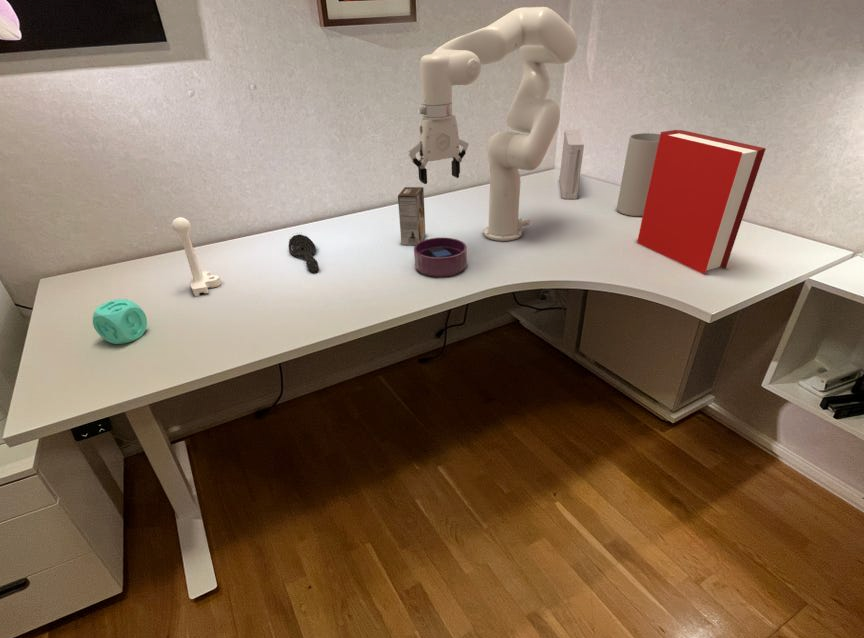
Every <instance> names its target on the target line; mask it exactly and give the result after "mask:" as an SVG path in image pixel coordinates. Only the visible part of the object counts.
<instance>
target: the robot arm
mask: <svg viewBox="0 0 864 638" xmlns="http://www.w3.org/2000/svg"><path fill="white" fill-rule="evenodd" d="M577 48H578V38H577V34H576V32H575V30H574V29H573V28H572V27H571V25H569V24H568V22H567V21H565V19H564V18H562V17H561V15H559V14H558V13H557V12H556V11H555V10H553V9H551V8H550V7H547V6H527V7H526V6H525V7H524V6H523V7H518V8H515V9H513V10H512V11H510V12H508V13H506V14H505V15H504V16H501V17H500V18H499V19H497V20H495V21H494V22H492V23H490V24H489V25H487V26H485V27H481V28H479V29H476V30H473V31H472V32H468V33H466V34H463V35H460V36H458V37H454V38H452V39H451V40H449V41H446V42H445V43H444V44H442V45H441V46H439V47H437V48H436V49H435V50H434V51H433V52H431V53H429V54H425V55H423V56H421V58H420V61H419V67H420V87H421V107H418V108H417V114H418V115H421V116H422V117H420V121H419V129H418V143H417V144H416V145H415V146H414V147H412V148H411V149H409V150H408V151H407V155H408V157H409V158H410V160H411V162H412V163H413V164H414V165H415V166H416V167H417V168H418V180H419V181H420V183H422V184H424V185H427V184H428V170H427V168H426V166H427V164H428V163H429V162H434V161H441V160H447V159H451V158H452V160H451V176H452V177H454V178H456V179H459V178H460V174H461V163H462V161H463V159H464V157H465V155H466V153H467V151H468V147H469V143H468V142H467V141H465V140H462V139H460V137H459V136H460V135H459V127H458V122H457V121H458V120H457V118H456V115H455V114H453V92H452V91H453V88H452V87H453V86H468V85H471V84H473V83H475V81H477V79H478V78H479V77H480V74H481V69H482V65H489V64H493V63H497V62H500V61H502V60H503V59H505V58H506V57H508V56H509V55H511V54H512V53H514V52H515V51H517V50H518V49H519V52H520V58H521V64H522V79H521V81H520V84H519V87H518V89H517V92H516V94H515V96H514V98H513V101H512V102H511V105H510V107H509V109H508V112H507V115H506V123H507V126H508V127H509V128H510V129H511V130H513V131H516V132H513V131H505V130H503V131H498V132H496V133H494V134H493V135H492V136H491V137H490V138H489V140H488V145H487V158H488V164H489V199H488V201H489V202H488V226H487V227H485V228H484V229H483V236H484V237H485V238H486V239H489V240H491V241H496V242H509V241H514V240H517V239H519V238H520V237H522V234H523V230H522V228H523V227H526V226H530V225H531V219H529V218H527V219H524V220H523V218H519V210H520V209H519V208H520V195H521V174H520V171H519V170H523V171H529V172H531V171H534V170H536V169H537V168H538V167H539V166H540V165H541V163H542V162H543V160H544V158H545V156H546V154H547V152H548V150H549V147H550V145H551V143H552V140H553V138H554V136H555V135H556V132H557V130H558V128H559V124H560V119H561V110H560V106H559V104H558V103H557V102H556V101H555V100H553V99H550V98H546V97H547V96H548V93H549V90H550V85H551V82H550V77H549V73H548V71H547V68H546V64H553V65H554V64H555V65H562V64H566V63H569V62H570V61H571V60H572V59H573V58H574V56H575V55H576V53H577ZM418 153H419V159H418V158H417V156H416V154H418Z"/></svg>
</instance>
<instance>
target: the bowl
mask: <svg viewBox="0 0 864 638" xmlns="http://www.w3.org/2000/svg"><path fill="white" fill-rule="evenodd" d="M438 247H443V248H444V249H445V250H447V251H448V252H450V253H451V254H452V256H450V257H442V258H435V257H429V254H428V250H429V249H434V248H438ZM413 256H414V259H413V260H414V267H415V269H416V270H417V271H418V272H419V273H421V274H422V275H424V276H428V277H432V278H446V277H452V276H456V275H458V274H460V273H461V272H463V271H464V269H465V268H467V265H468V246H467V243H465V242H464V241H462V240H460V239H457V238H452V237H432V238H427V239H423V240H422V241H421V242H419V243H417V244H416V245H414V247H413Z"/></svg>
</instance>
